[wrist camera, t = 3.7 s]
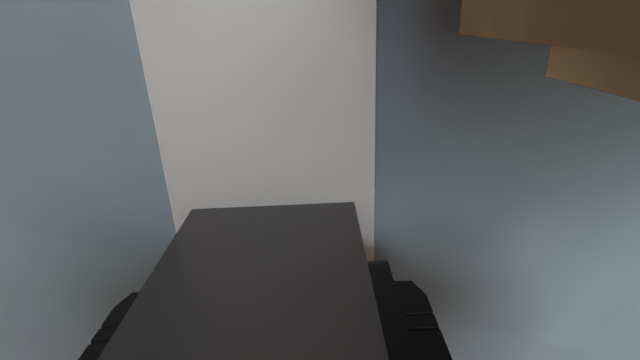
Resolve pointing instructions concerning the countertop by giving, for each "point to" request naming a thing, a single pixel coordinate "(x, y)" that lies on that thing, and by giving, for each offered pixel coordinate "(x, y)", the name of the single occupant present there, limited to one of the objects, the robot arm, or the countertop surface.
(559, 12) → the cabinet
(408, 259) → the countertop surface
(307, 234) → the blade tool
